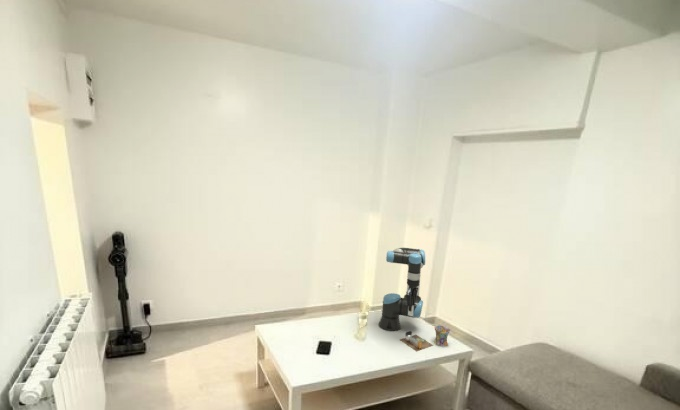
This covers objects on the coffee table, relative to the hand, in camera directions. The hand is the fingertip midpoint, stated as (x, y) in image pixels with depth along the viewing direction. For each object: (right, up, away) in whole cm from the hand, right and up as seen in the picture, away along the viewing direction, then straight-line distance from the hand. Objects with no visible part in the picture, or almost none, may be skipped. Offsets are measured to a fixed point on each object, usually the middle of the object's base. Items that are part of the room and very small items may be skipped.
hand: (410, 315), depth 200 cm
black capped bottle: (+1, -17, -2) cm, 17 cm away
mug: (+19, -20, +3) cm, 28 cm away
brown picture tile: (+4, -19, +1) cm, 19 cm away
